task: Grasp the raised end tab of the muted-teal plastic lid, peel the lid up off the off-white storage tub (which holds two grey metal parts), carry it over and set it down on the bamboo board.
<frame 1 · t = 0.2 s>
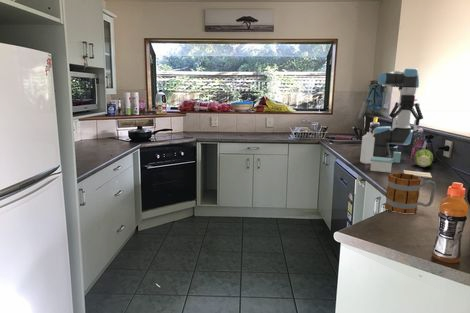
hand: (404, 129, 216), 27 cm above the worktop, fingers open, 13 cm apart
board: (417, 174, 216), on the worktop
lettuce: (422, 167, 238), on the worktop
tub: (380, 170, 224), on the worktop
lid: (381, 160, 222), point 7 cm above the worktop, touching tub
part a: (376, 168, 226), point 1 cm above the worktop, touching tub
part b: (384, 170, 221), point 1 cm above the worktop, touching tub
milk: (365, 163, 245), on the worktop
mug: (408, 210, 153), on the worktop
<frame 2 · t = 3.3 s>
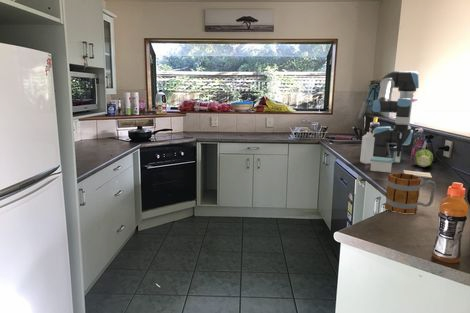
hand: (397, 160, 219), 8 cm above the worktop, fingers closed on lid, 4 cm apart
lid: (381, 160, 222), point 7 cm above the worktop, touching gripper, tub
everything else where it was.
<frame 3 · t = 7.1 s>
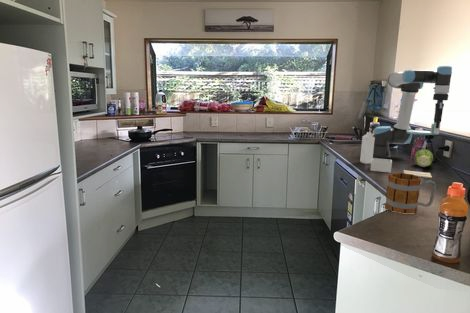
hand: (435, 132, 208), 27 cm above the worktop, fingers closed on lid, 4 cm apart
lid: (418, 133, 211), point 26 cm above the worktop, touching gripper
everything else where it was.
when the fingers open (4 cm above the worktop, at t = 11.3 s): lid drops 2 cm, resting on board.
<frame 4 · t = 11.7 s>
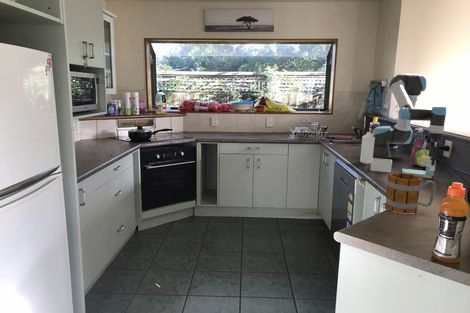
hand: (430, 168, 212), 5 cm above the worktop, fingers open, 10 cm apart
lid: (413, 173, 216), point 1 cm above the worktop, touching board
everything else where it was.
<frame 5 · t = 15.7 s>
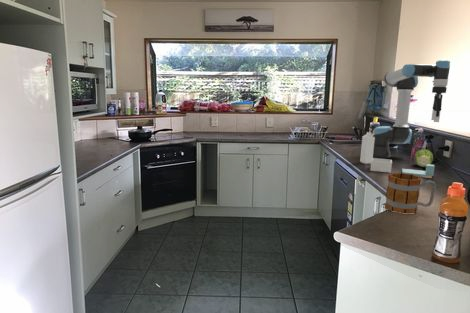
hand: (435, 121, 217), 33 cm above the worktop, fingers open, 13 cm apart
nothing on the worktop moved.
at the end: lid inside the target area on the board (0.1 cm from its centre), point 0.8 cm above the board's base; the gripper is holding nothing; lid moved 20.1 cm from its start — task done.
